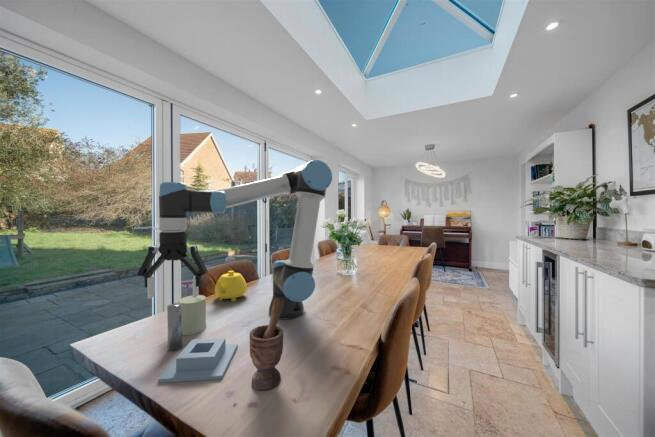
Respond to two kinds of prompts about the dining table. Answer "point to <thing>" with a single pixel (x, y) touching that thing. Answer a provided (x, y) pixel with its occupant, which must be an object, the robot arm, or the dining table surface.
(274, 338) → the mortar and pestle
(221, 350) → the socket block
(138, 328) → the dining table surface
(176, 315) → the peg
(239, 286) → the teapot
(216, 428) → the dining table surface
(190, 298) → the can
